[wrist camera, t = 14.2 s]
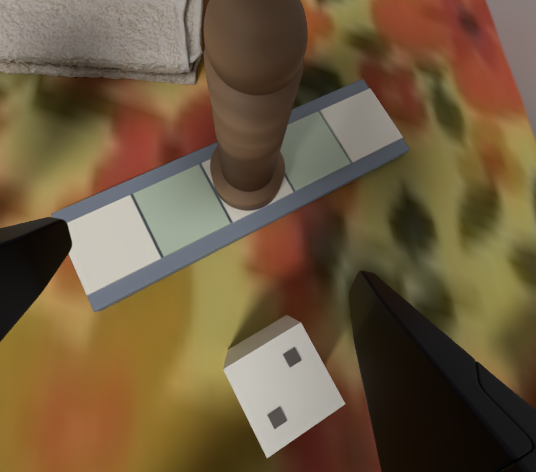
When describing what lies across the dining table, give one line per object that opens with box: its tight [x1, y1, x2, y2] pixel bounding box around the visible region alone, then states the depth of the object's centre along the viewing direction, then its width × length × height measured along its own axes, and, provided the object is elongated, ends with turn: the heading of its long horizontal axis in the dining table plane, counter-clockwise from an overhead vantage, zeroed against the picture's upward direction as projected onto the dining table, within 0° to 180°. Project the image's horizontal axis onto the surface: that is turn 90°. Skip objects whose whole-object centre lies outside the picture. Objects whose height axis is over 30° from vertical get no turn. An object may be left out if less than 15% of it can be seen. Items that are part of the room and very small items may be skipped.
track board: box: [51, 79, 410, 312], centre depth 19 cm, size 25×7×1 cm, turn 119°
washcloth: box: [0, 0, 203, 85], centre depth 20 cm, size 12×18×3 cm, turn 92°
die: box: [223, 315, 345, 458], centre depth 15 cm, size 5×4×5 cm
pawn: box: [203, 0, 307, 211], centre depth 13 cm, size 5×5×12 cm
